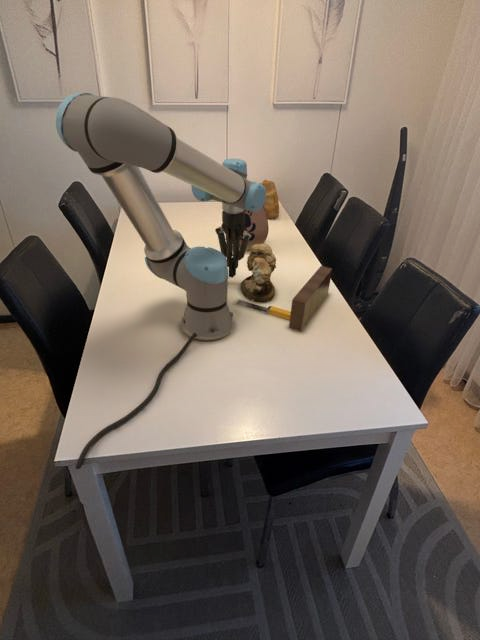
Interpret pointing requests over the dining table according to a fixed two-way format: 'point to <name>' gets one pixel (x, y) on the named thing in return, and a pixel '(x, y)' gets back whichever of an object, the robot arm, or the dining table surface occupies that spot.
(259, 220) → the ceramic pitcher
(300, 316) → the walnut rail
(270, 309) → the yellow handled chisel
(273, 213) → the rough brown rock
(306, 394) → the dining table surface
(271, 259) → the beige stone figure
